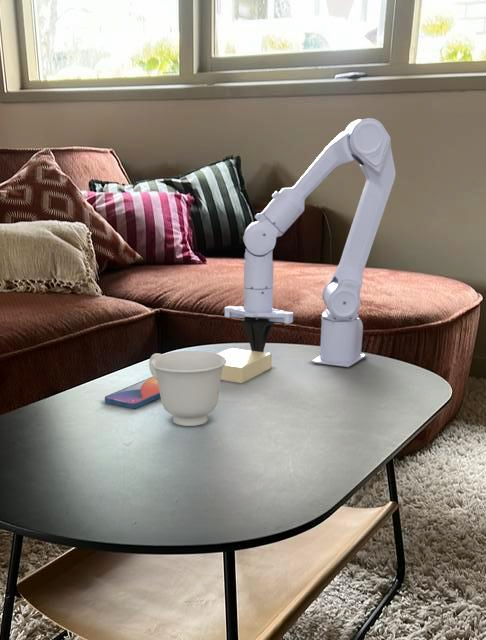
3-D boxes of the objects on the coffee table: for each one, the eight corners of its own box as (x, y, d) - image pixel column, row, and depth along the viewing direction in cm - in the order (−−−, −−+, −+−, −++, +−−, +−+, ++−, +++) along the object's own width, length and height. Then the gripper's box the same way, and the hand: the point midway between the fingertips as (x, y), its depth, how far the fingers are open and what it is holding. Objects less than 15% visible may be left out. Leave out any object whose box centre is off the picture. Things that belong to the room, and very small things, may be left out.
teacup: (179, 400, 134) (177, 344, 129) (242, 419, 124) (242, 358, 120) (126, 417, 126) (122, 358, 122) (190, 438, 117) (187, 374, 112)
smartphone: (102, 403, 134) (101, 397, 133) (155, 380, 145) (154, 375, 144) (134, 410, 130) (134, 404, 129) (186, 386, 141) (186, 381, 140)
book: (230, 362, 156) (230, 347, 155) (271, 368, 152) (271, 352, 151) (199, 377, 147) (198, 361, 146) (241, 383, 143) (241, 367, 141)
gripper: (216, 287, 150) (217, 355, 156) (282, 293, 143) (280, 364, 149) (234, 281, 155) (234, 348, 161) (298, 287, 148) (296, 356, 154)
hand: (257, 355), depth 155 cm, fingers closed
